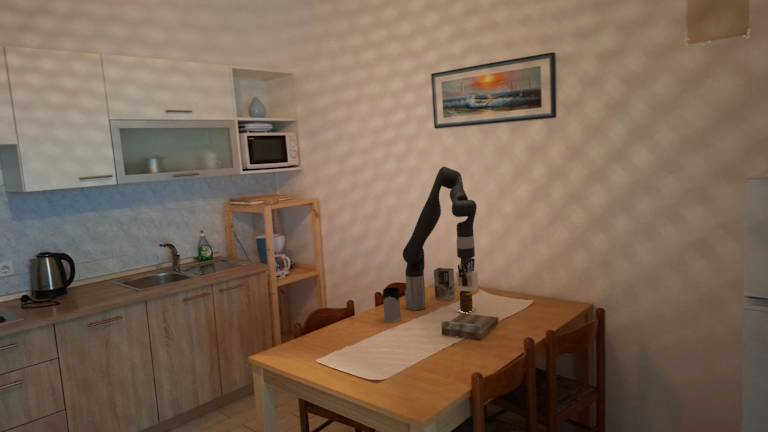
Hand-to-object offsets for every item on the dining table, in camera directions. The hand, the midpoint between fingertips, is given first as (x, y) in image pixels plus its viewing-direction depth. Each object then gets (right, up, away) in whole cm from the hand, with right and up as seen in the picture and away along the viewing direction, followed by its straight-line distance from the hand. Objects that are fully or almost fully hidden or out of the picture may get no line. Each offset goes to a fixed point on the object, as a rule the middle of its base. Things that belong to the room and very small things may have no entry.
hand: (467, 284), depth 228 cm
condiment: (+4, -17, +30) cm, 35 cm away
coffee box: (-3, -15, +53) cm, 55 cm away
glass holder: (-31, -20, +26) cm, 45 cm away
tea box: (0, -2, 0) cm, 2 cm away
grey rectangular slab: (+2, -20, +4) cm, 21 cm away
